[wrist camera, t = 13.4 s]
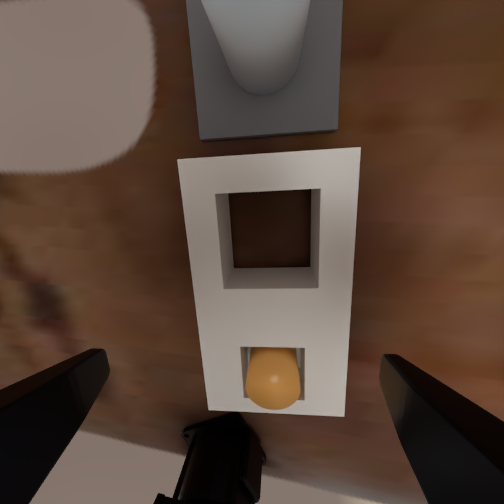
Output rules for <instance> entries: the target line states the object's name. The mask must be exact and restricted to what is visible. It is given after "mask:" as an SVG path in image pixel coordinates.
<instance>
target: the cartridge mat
mask: <svg viewBox="0 0 504 504" xmlns="http://www.w3.org/2000/svg"><path fill="white" fill-rule="evenodd" d="M186 5H187V15H188V26H189V36H190V46H191V56H192V66H193V76H194V86H195V96H196V106H197V116H198V126H199V136H200V140H202V141H214V140H228V139H241V138H255V137H268V136H282V135H295V134H309V133H322V132H335V131H336V130H337V129H338V111H339V85H340V59H341V32H342V6H343V0H310V6H309V11H308V16H307V22H306V27H305V33H304V38H303V44H302V49H301V54H300V60H299V64H298V67H297V70H296V72H295V74H294V76H293V77H292V79H291V80H290V81H289V83H288V84H287V85H286V86H285V87H283V88H282V89H281V90H279V91H277V92H275V93H273V94H270V95H255V94H251V93H249V92H247V91H245V90H244V89H243V88H241V87H240V86H239V85H238V84H237V82H236V81H235V79H234V78H233V76H232V74H231V71H230V69H229V67H228V64H227V62H226V59H225V57H224V55H223V52H222V50H221V47H220V45H219V43H218V40H217V38H216V35H215V33H214V31H213V28H212V26H211V23H210V21H209V19H208V16H207V14H206V11H205V9H204V7H203V4H202V2H201V0H186Z"/></svg>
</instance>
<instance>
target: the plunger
mask: <svg viewBox="0 0 504 504" xmlns="http://www.w3.org/2000/svg"><path fill="white" fill-rule="evenodd" d="M245 388H246V392H247V395H248V396H249V398H250V399H251V400H252V401H253V402H254V403H255V404H256V405H258V406H260V407H262V408H265V409H269V410H281V409H285V408H287V407H289V406H291V405H293V404H294V403H295V402H296V401H297V399H298V397H299V395H300V379H299V370H298V361H297V353H296V348H289V347H251V352H250V358H249V365H248V371H247V377H246V384H245Z"/></svg>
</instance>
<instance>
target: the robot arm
mask: <svg viewBox="0 0 504 504" xmlns="http://www.w3.org/2000/svg"><path fill="white" fill-rule="evenodd" d="M109 373H110V367H109V363H108V359H107V355H106V351H105V350H104V349H96V348H93V349H89V350H87V351H85V352H82V353H80V354H78V355H76V356H74V357H71V358H69V359H67V360H65V361H63V362H60V363H58V364H56V365H54V366H52V367H49V368H47V369H45V370H43V371H41V372H38V373H36V374H34V375H32V376H30V377H27V378H25V379H23V380H21V381H19V382H16V383H14V384H12V385H10V386H8V387H5V388H3V389H1V390H0V504H29V503H30V501H31V500H32V498H33V497H34V495H35V494H36V492H37V491H38V489H39V488H40V486H41V484H42V483H43V482H44V480H45V479H46V477H47V476H48V474H49V473H50V471H51V470H52V468H53V467H54V465H55V464H56V462H57V461H58V459H59V458H60V456H61V455H62V453H63V452H64V450H65V449H66V447H67V446H68V444H69V443H70V441H71V439H72V438H73V437H74V435H75V433H76V432H77V431H78V429H79V428H80V426H81V424H82V423H83V421H84V419H85V418H86V416H87V414H88V412H89V411H90V409H91V407H92V405H93V403H94V402H95V400H96V398H97V396H98V394H99V393H100V391H101V389H102V387H103V385H104V384H105V382H106V380H107V378H108V376H109ZM379 381H380V385H381V388H382V391H383V394H384V397H385V400H386V403H387V406H388V409H389V412H390V414H391V417H392V420H393V423H394V426H395V429H396V432H397V434H398V437H399V440H400V442H401V445H402V447H403V449H404V451H405V454H406V456H407V458H408V460H409V462H410V465H411V467H412V469H413V471H414V473H415V476H416V478H417V480H418V482H419V484H420V486H421V489H422V491H423V493H424V495H425V497H426V500H427V502H428V504H504V422H503V421H502V420H500V419H499V418H497V417H496V416H494V415H492V414H491V413H489V412H488V411H486V410H484V409H483V408H481V407H480V406H478V405H477V404H475V403H473V402H472V401H470V400H469V399H467V398H465V397H464V396H462V395H461V394H459V393H458V392H456V391H454V390H453V389H451V388H450V387H448V386H447V385H445V384H443V383H442V382H440V381H439V380H437V379H435V378H434V377H432V376H431V375H429V374H428V373H426V372H424V371H423V370H421V369H420V368H418V367H416V366H415V365H413V364H412V363H410V362H409V361H407V360H405V359H404V358H402V357H401V356H399V355H397V354H383V355H382V356H381V362H380V373H379ZM182 437H183V438H184V440H185V441H186V443H187V444H188V446H189V450H188V453H187V456H186V459H185V462H184V465H183V468H182V471H181V474H180V477H179V480H178V483H177V486H176V489H175V492H174V495H173V498H170V497H166V496H165V495H164V494H160V493H158V495H157V497H156V499H155V501H154V504H255V503H257V502H259V499H260V489H261V471H262V465H264V464H265V463H266V456H265V454H264V453H263V450H262V448H261V447H260V445H259V444H258V442H257V440H256V439H255V437H254V436H253V434H252V433H251V432H250V430H249V429H248V427H247V425H246V424H245V422H244V421H243V419H242V417H241V416H240V415H239V414H238V413H232V414H229V415H226V416H223V417H220V418H216V419H213V420H210V421H207V422H204V423H201V424H197V425H194V426H191V427H188V428H185V429H184V430H183V433H182Z"/></svg>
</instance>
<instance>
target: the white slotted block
mask: <svg viewBox="0 0 504 504" xmlns="http://www.w3.org/2000/svg"><path fill="white" fill-rule="evenodd" d="M360 153H361V147H354V148H339V149H324V150H310V151H295V152H280V153H265V154H250V155H235V156H220V157H205V158H190V159H177V162H178V170H179V178H180V186H181V194H182V202H183V210H184V218H185V226H186V234H187V242H188V250H189V258H190V266H191V274H192V282H193V290H194V298H195V306H196V314H197V322H198V330H199V338H200V346H201V354H202V362H203V370H204V378H205V386H206V394H207V402H208V410H218V411H239V412H259V413H280V414H301V415H321V416H342V417H344V411H345V394H346V378H347V362H348V346H349V330H350V314H351V298H352V282H353V265H354V249H355V233H356V217H357V201H358V185H359V169H360ZM300 189H311V250H310V267H285V268H234V263H233V250H232V236H231V223H230V210H229V197H228V193H240V192H260V191H280V190H300ZM251 347H289V348H296V353H297V361H298V370H299V379H300V395H299V397H298V399H297V401H296V402H295V403H294V404H293V405H291V406H289V407H287V408H285V409H281V410H269V409H265V408H262V407H260V406H258V405H256V404H255V403H254V402H253V401H252V400H251V399H250V398H249V396H248V395H247V392H246V388H245V384H246V377H247V371H248V365H249V358H250V352H251Z"/></svg>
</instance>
